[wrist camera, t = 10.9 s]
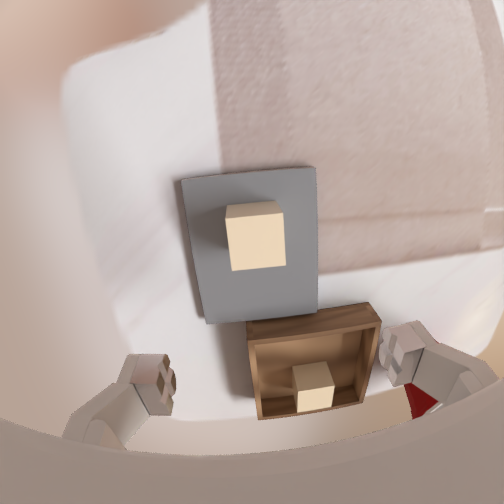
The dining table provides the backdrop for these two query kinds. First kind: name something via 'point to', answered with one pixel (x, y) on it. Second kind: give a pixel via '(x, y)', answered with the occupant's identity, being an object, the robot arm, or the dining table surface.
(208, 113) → the dining table surface
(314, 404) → the beige block
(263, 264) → the cream wooden cube
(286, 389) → the walnut bin
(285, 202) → the slate board
